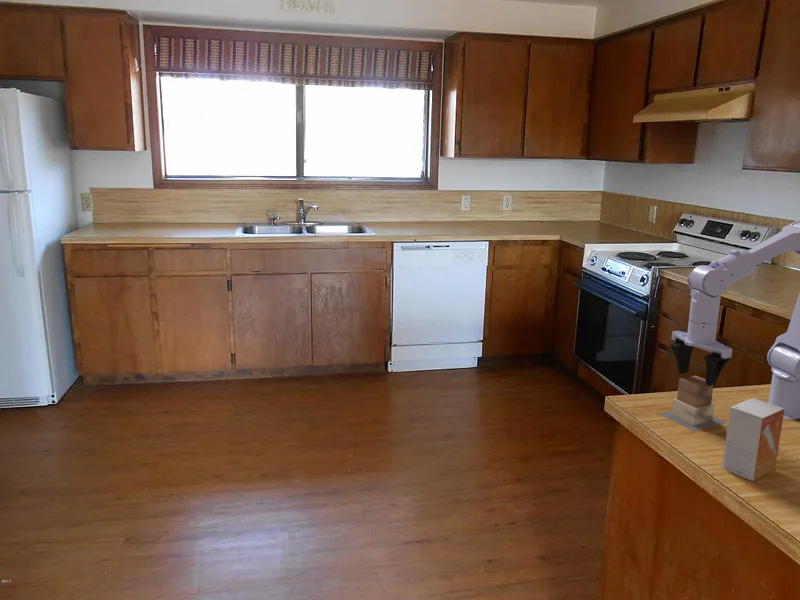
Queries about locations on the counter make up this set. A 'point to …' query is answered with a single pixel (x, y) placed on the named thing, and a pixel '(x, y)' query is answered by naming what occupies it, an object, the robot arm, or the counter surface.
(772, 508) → the counter surface
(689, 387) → the walnut block
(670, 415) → the mat
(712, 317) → the robot arm
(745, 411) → the small box
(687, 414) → the maple block
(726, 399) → the counter surface
